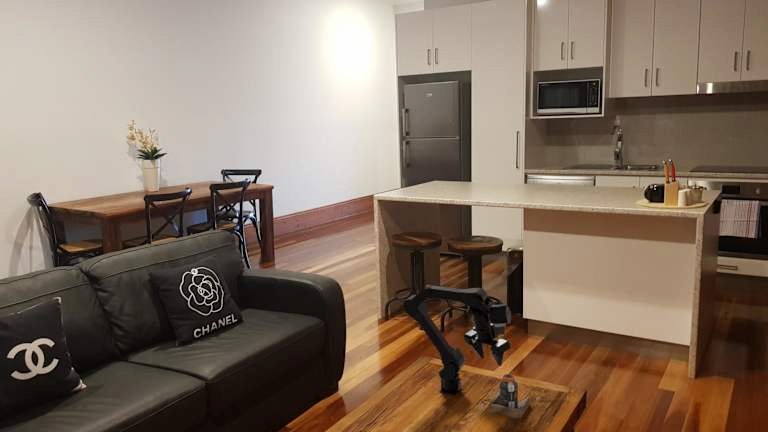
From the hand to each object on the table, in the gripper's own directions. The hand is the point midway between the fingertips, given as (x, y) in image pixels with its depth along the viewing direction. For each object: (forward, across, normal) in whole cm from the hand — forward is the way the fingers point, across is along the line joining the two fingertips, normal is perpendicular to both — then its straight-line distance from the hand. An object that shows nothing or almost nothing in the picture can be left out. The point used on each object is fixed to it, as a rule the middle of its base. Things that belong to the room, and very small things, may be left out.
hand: (491, 361), depth 215 cm
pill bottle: (+11, -12, +6) cm, 17 cm away
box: (+11, -12, +6) cm, 18 cm away
